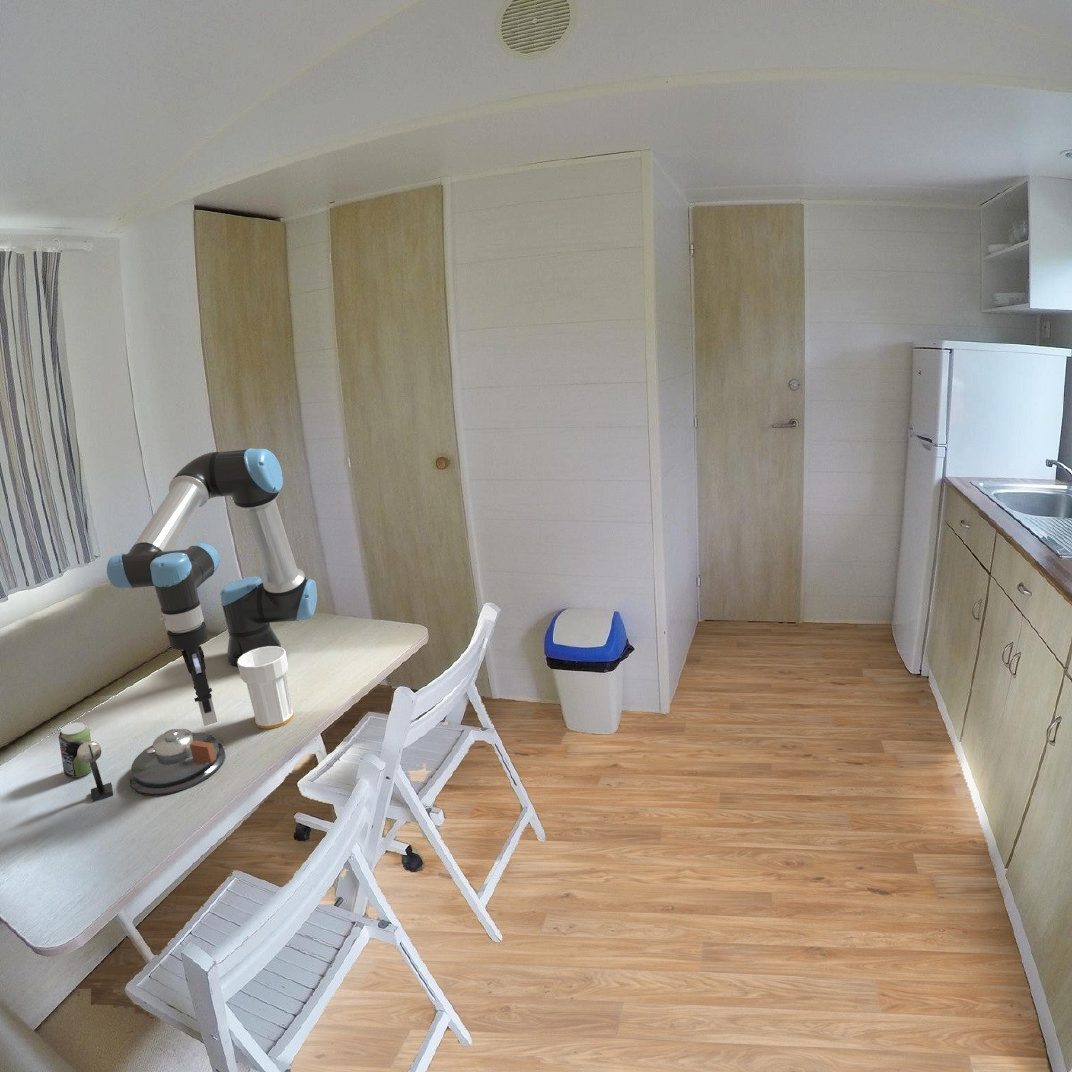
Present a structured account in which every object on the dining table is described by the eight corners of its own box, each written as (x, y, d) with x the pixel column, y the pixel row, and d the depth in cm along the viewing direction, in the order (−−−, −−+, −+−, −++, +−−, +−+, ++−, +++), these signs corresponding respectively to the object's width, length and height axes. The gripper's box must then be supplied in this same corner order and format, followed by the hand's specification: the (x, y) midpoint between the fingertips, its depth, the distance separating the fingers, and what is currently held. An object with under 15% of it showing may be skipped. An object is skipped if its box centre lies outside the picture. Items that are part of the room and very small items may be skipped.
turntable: (176, 736, 185) (170, 714, 183) (243, 746, 178) (238, 723, 176) (115, 781, 169) (107, 757, 167) (185, 794, 162) (179, 769, 160)
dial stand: (90, 793, 168) (74, 740, 164) (113, 785, 170) (97, 733, 166) (91, 802, 164) (74, 749, 160) (114, 794, 166) (98, 742, 162)
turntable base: (127, 763, 178) (126, 759, 178) (217, 733, 187) (216, 730, 187) (133, 807, 161) (132, 803, 161) (232, 772, 171) (231, 768, 170)
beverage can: (73, 766, 179) (59, 721, 175) (105, 762, 179) (92, 717, 176) (59, 782, 173) (45, 736, 169) (93, 778, 173) (79, 732, 170)
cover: (176, 741, 179) (171, 721, 177) (203, 746, 176) (197, 725, 174) (149, 761, 172) (143, 740, 170) (175, 766, 169) (170, 745, 167)
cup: (241, 728, 189) (226, 664, 184) (271, 704, 199) (258, 643, 193) (278, 734, 185) (264, 669, 179) (307, 710, 195) (295, 648, 189)
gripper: (162, 620, 166) (188, 715, 173) (170, 642, 155) (196, 742, 162) (199, 611, 169) (223, 704, 177) (209, 631, 158) (233, 729, 166)
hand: (210, 722), depth 170 cm, fingers closed
